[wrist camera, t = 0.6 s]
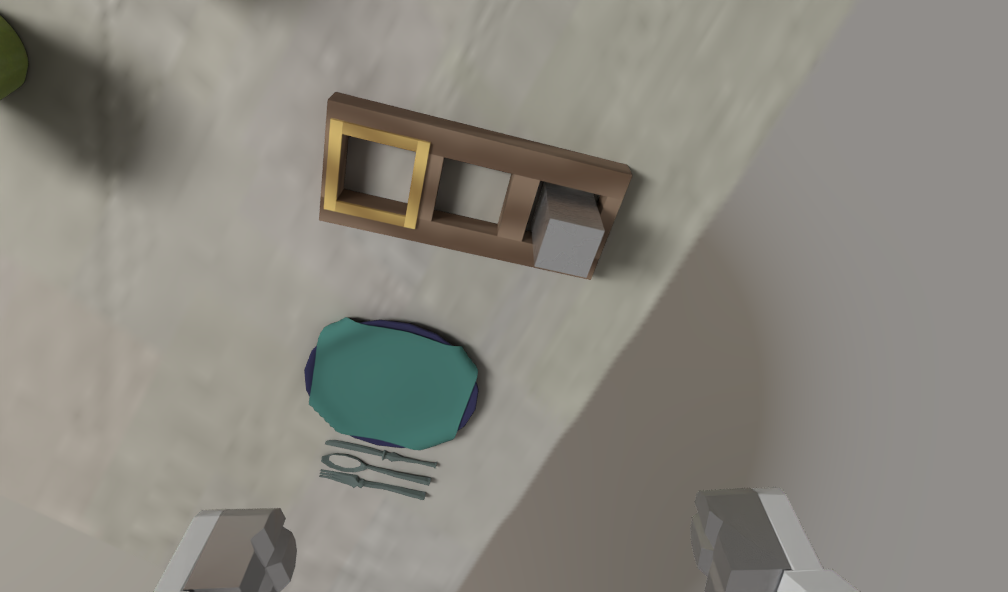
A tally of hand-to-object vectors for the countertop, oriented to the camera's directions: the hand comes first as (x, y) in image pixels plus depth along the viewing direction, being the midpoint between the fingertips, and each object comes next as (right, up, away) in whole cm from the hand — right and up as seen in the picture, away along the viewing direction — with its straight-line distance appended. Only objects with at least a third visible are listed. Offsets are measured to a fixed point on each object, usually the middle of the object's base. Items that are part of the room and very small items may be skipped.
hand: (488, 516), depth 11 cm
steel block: (+6, +13, +41) cm, 44 cm away
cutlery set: (-14, -9, +57) cm, 59 cm away
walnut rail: (-3, +14, +40) cm, 43 cm away
